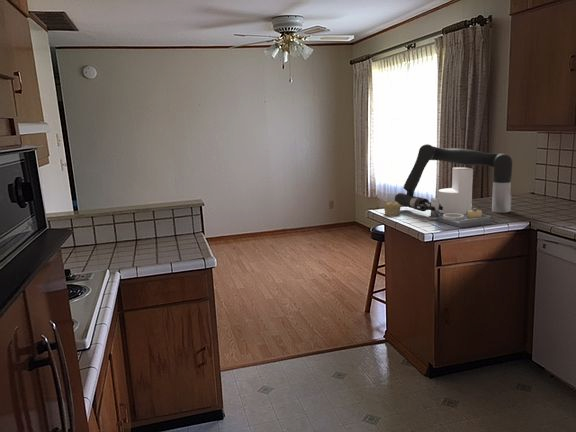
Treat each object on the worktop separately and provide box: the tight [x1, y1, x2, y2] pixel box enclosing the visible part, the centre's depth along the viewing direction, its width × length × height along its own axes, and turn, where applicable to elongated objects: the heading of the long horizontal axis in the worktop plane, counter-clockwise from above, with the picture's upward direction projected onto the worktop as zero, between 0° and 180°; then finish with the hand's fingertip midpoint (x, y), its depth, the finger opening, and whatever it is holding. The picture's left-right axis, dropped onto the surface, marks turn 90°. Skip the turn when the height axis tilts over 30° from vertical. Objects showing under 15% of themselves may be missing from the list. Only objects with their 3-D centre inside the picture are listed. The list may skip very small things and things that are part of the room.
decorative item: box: [383, 200, 402, 217], centre depth 278 cm, size 10×10×10 cm
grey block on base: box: [428, 197, 442, 222], centre depth 259 cm, size 7×7×12 cm
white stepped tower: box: [437, 167, 474, 214], centre depth 276 cm, size 19×19×25 cm
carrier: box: [438, 207, 493, 228], centre depth 250 cm, size 20×18×8 cm
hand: (438, 208), depth 256 cm, fingers closed on grey block on base, 4 cm apart
